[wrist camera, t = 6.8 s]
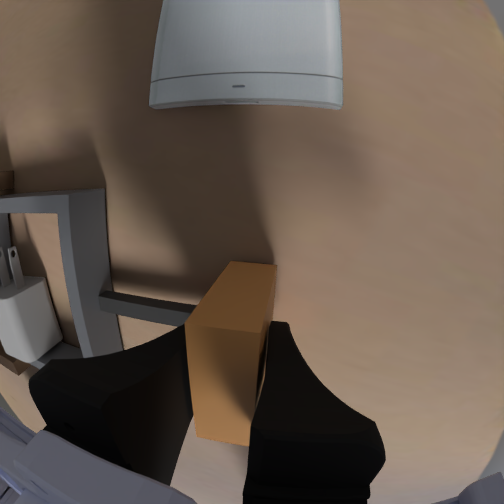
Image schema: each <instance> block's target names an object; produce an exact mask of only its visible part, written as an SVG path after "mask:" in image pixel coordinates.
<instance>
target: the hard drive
mask: <svg viewBox="0 0 504 504" xmlns="http://www.w3.org/2000/svg"><path fill="white" fill-rule="evenodd" d="M342 63H343V60H342V34H341V17H340V5H339V0H163V5H162V9H161V15H160V20H159V26H158V31H157V37H156V43H155V51H154V59H153V66H152V74H151V86H150V96H149V106H150V107H151V108H154V109H165V108H176V107H187V106H203V105H230V104H264V105H290V106H306V107H318V108H328V109H336V110H340V109H341V108H342V106H343V66H342Z"/></svg>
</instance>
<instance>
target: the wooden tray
mask: <svg viewBox="0 0 504 504" xmlns="http://www.w3.org/2000/svg"><path fill="white" fill-rule="evenodd" d="M10 188H14V181H13V171H6V172H0V190H5V189H10ZM0 364H2V365H3V366H5V367H6V368H8V369H9V370H11V371H12V372H14V373H15V374H17V375H18V376H19V375H20V374H21V373H23V372H24V371H25V370H26V369H27V368H28V367H30V366H31V364H29V363H26V362H23V361H21V360H19V359H17V358H15V357H12V356H10V355H8V354H6V352H5V350H4V348H3V345H2V343H1V340H0Z"/></svg>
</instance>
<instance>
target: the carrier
mask: <svg viewBox="0 0 504 504" xmlns="http://www.w3.org/2000/svg"><path fill="white" fill-rule="evenodd" d="M8 213H58V226H59V237H60V246H61V254H62V262H63V268H64V275H65V281H66V286H67V292H68V297H69V302H70V307H71V311H72V316H73V320H74V324H75V328H76V332H77V336H78V340H79V343H80V347H81V349H79V348H77V347H74V346H71V345H69V344H66V343H63V342H61V341H60V342H58V343H57V344H56V345H55V346H53V347H52V348H51V349H50V350H48V351H47V352H46V353H45V354H43V355H42V356H41V357H40V358H39V359H37V360H36V361H34V362H30V363H29V364H31V365H33V366H35V367H37V368H38V369H41V368H42V367H43V366H44V365H45V364H47V363H48V362H49V361H50V360H51V359H77V358H88V357H95V356H101V355H107V354H111V353H115V352H119V351H123V348H122V343H121V338H120V333H119V328H118V323H117V317H116V314H118V315H122V316H127V317H131V318H136V319H141V320H146V321H151V322H156V323H161V324H166V325H172V326H177V327H179V326H181V325H183V324H185V336H186V348H187V359H188V370H189V380H190V389H191V398H192V406H193V414H194V421H195V428H196V435H197V437H200V438H205V439H210V440H214V441H220V442H225V443H231V444H237V445H243V446H249V441H250V427H251V423H252V420H253V417H254V414H255V410H256V407H257V404H258V401H259V397H260V393H261V390H262V386H263V382H264V377H265V367H266V356H267V345H268V333H269V326H270V323H271V321H272V320H273V308H274V297H275V284H276V271H277V265H270V264H259V263H248V262H237V261H230V262H229V264H228V265H227V266H226V268H225V269H224V270H223V272H222V273H221V274H220V276H219V277H218V278H217V280H216V281H215V282H214V284H213V285H212V286H211V288H210V289H209V290H208V292H207V293H206V295H205V296H204V297H203V299H202V300H201V301H200V303H199V304H198V305H191V304H184V303H178V302H171V301H165V300H158V299H152V298H146V297H141V296H135V295H129V294H124V293H118V292H113V291H112V284H111V276H110V267H109V257H108V246H107V233H106V215H105V189H80V190H60V191H45V192H31V193H19V194H9V195H0V247H2V250H3V253H4V257H5V261H6V265H7V270H8V274H9V278H10V280H11V279H13V274H12V270H11V266H10V260H9V254H8V248H11V241H10V233H9V224H8ZM1 255H2V253H1V251H0V257H1ZM11 257H12V258H13V255H12V251H11ZM1 284H2V282H1V279H0V285H1Z"/></svg>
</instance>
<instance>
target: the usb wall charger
mask: <svg viewBox="0 0 504 504" xmlns="http://www.w3.org/2000/svg"><path fill="white" fill-rule="evenodd" d="M12 250H14V251H15V256H14V257H13V258H12V257H11V251H12ZM0 251H1V253H2V255H1V257H0V279H1V282H2V284H1V285H0V340H1V343H2V345H3V348H4V350H5V352H6V354H8V355H10V356H12V357H15V358H17V359H19V360H21V361H23V362H26V363H30V362H34V361H36V360H37V359H39V358H40V357H41V356H42V355H43V354H45V353H46V352H47V351H48V350H50V349H51V348H52V347H53V346H55V345H56V344H57V343H58V342H60V341H61V340H62V338H63V336H62V333H61V330H60V327H59V324H58V321H57V318H56V315H55V312H54V308H53V305H52V302H51V298H50V294H49V291H48V287H47V283H46V279H45V277H33V276H23V274H22V270H21V265H20V261H19V257H18V253H17V250H16V246H14V247H11V248H8V254H9V260H10V266H11V270H12V274H13V279H11V280H10V278H9V274H8V270H7V265H6V261H5V257H4V253H3V250H2V247H0Z"/></svg>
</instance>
